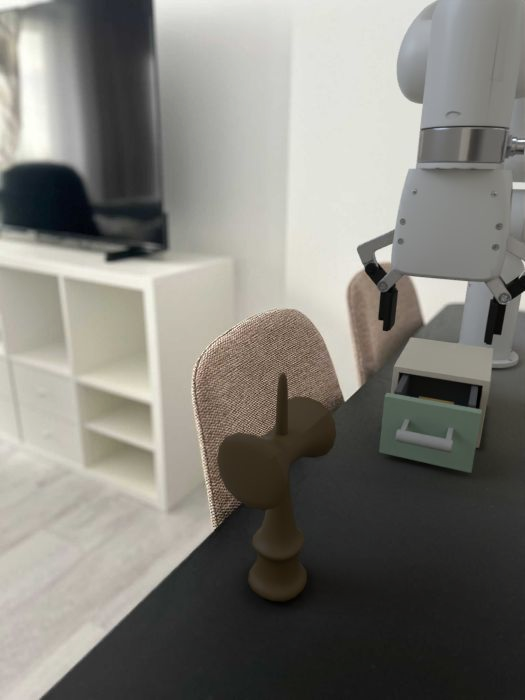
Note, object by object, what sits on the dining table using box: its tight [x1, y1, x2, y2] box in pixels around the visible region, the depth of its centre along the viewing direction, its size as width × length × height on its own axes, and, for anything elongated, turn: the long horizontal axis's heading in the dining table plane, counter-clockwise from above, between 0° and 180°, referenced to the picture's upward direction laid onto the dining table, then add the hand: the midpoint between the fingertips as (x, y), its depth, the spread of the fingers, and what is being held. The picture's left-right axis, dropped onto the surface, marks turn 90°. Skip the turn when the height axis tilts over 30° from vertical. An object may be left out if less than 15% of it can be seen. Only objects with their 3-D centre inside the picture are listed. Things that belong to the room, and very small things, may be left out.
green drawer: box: [378, 373, 482, 474], centre depth 65 cm, size 18×11×8 cm, turn 156°
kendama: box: [216, 372, 337, 603], centre depth 42 cm, size 6×10×20 cm, turn 146°
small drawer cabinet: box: [390, 336, 493, 449], centre depth 74 cm, size 14×12×10 cm
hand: (436, 334), depth 52 cm, fingers open, 9 cm apart
